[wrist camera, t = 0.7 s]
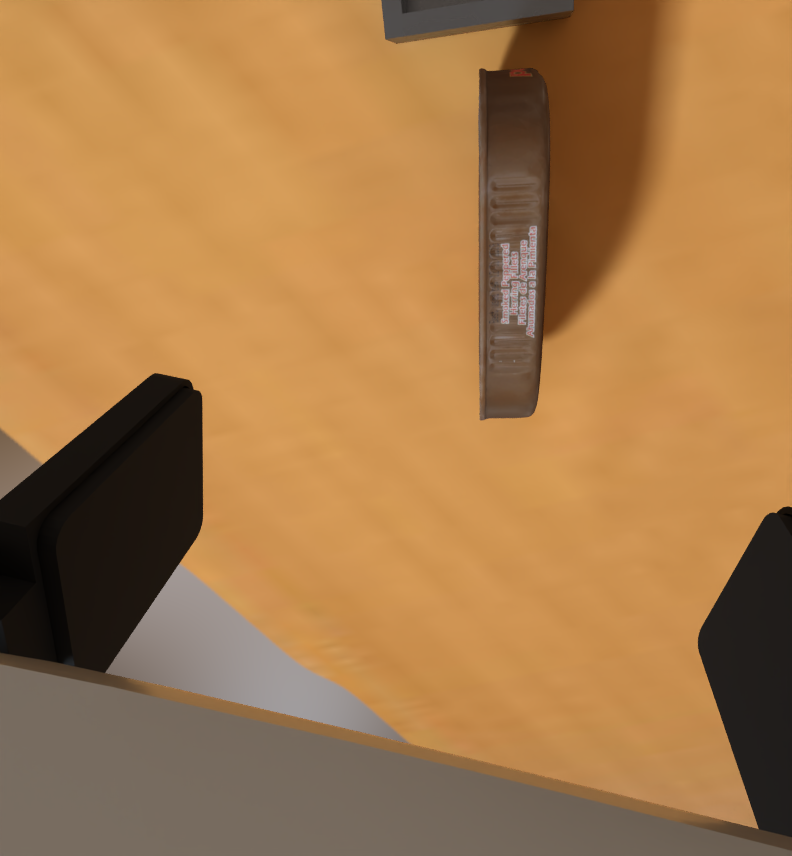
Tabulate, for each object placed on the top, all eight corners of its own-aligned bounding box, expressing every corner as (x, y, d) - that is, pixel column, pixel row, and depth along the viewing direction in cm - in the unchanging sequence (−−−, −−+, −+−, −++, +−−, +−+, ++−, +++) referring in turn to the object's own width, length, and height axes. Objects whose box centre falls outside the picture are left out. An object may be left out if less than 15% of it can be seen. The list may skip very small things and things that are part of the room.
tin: (478, 72, 28) (461, 64, 21) (550, 67, 28) (557, 57, 20) (478, 378, 35) (465, 452, 28) (535, 379, 35) (537, 454, 27)
